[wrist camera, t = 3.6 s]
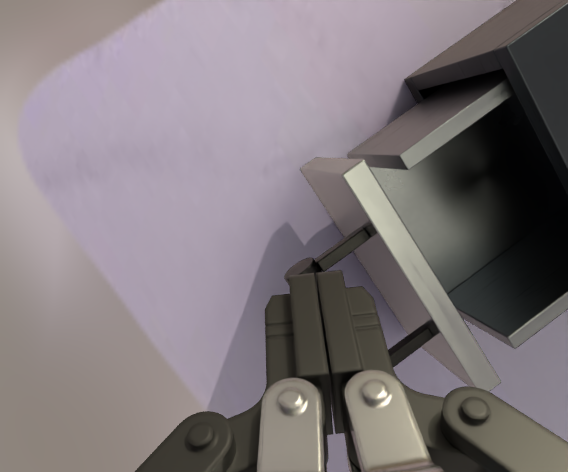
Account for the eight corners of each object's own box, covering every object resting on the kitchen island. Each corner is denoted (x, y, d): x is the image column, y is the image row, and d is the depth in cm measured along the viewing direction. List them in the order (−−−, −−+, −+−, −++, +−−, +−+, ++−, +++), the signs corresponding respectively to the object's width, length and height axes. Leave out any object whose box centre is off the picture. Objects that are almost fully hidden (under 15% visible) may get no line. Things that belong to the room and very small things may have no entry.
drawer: (354, 380, 31) (409, 453, 24) (235, 213, 28) (255, 235, 21) (593, 202, 33) (718, 217, 25) (504, 24, 30) (615, -21, 22)
